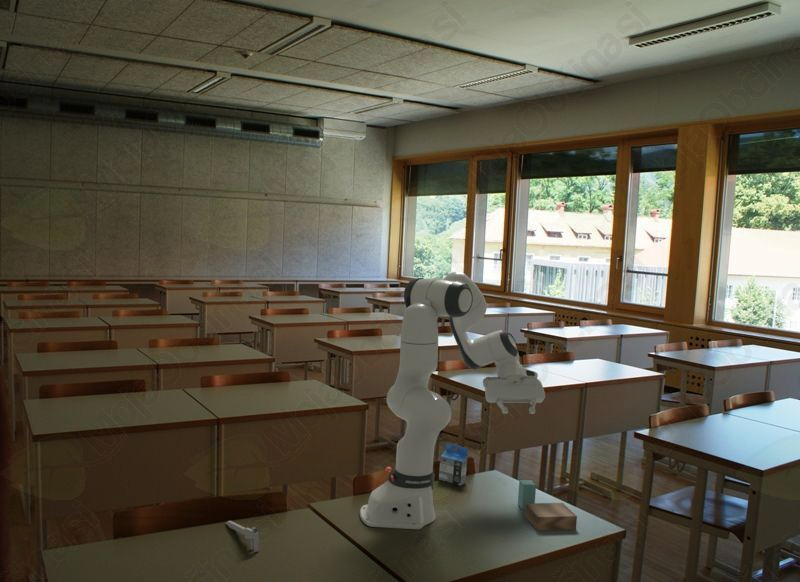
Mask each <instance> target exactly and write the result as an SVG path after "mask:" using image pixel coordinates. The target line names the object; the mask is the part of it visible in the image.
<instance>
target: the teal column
mask: <svg viewBox="0 0 800 582" xmlns="http://www.w3.org/2000/svg"><path fill="white" fill-rule="evenodd" d="M518 481H519V482H518V484H519V485H518V493H517V495H518V497H517V506H518V505H519V506H520V507H521V508H520V507H519V506H518V507H519V508H520V509H521V510H522V511H523V510H525V509H526V504H530V503H536V489H537V484H536V483H535V482H534V481H533V480H532V479H529V480H528V479H524V480H523V479H522V480H521V479H520V480H518Z"/></svg>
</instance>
